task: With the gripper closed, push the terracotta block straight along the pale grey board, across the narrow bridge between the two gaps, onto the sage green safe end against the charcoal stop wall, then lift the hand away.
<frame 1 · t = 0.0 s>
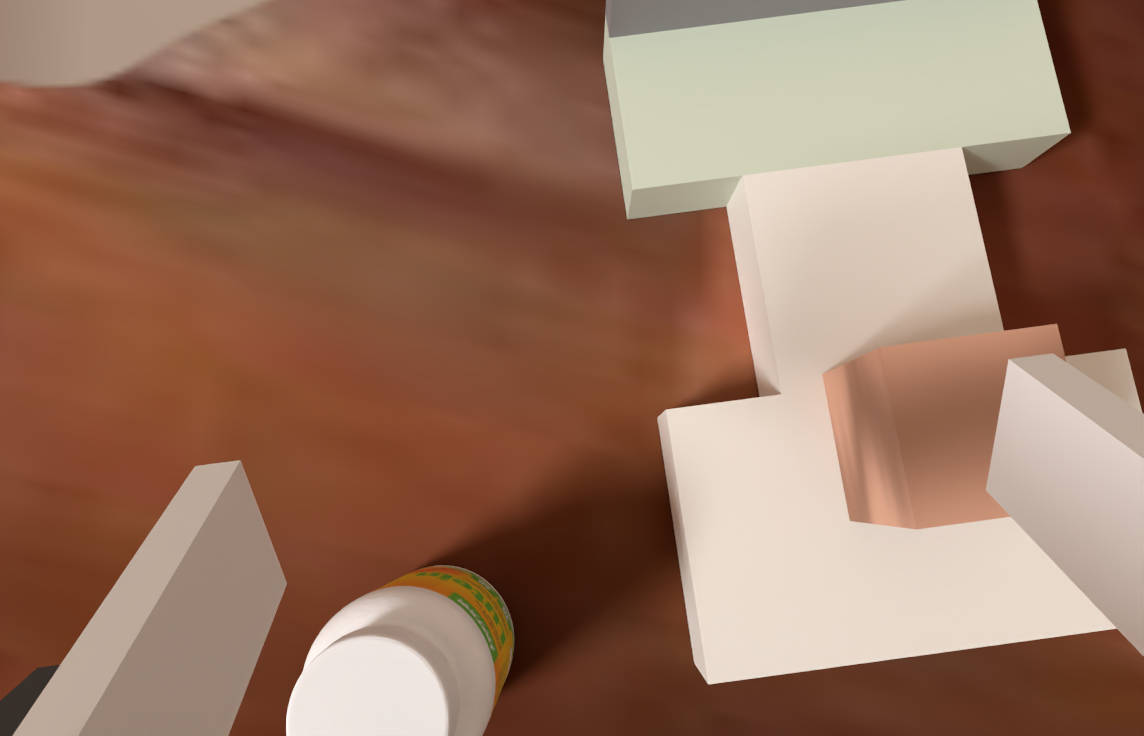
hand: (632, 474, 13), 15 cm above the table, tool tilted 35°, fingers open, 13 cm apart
block: (908, 436, 25), point 3 cm above the table, touching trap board
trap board: (848, 314, 29), on the table
supplement bottle: (443, 637, 27), on the table
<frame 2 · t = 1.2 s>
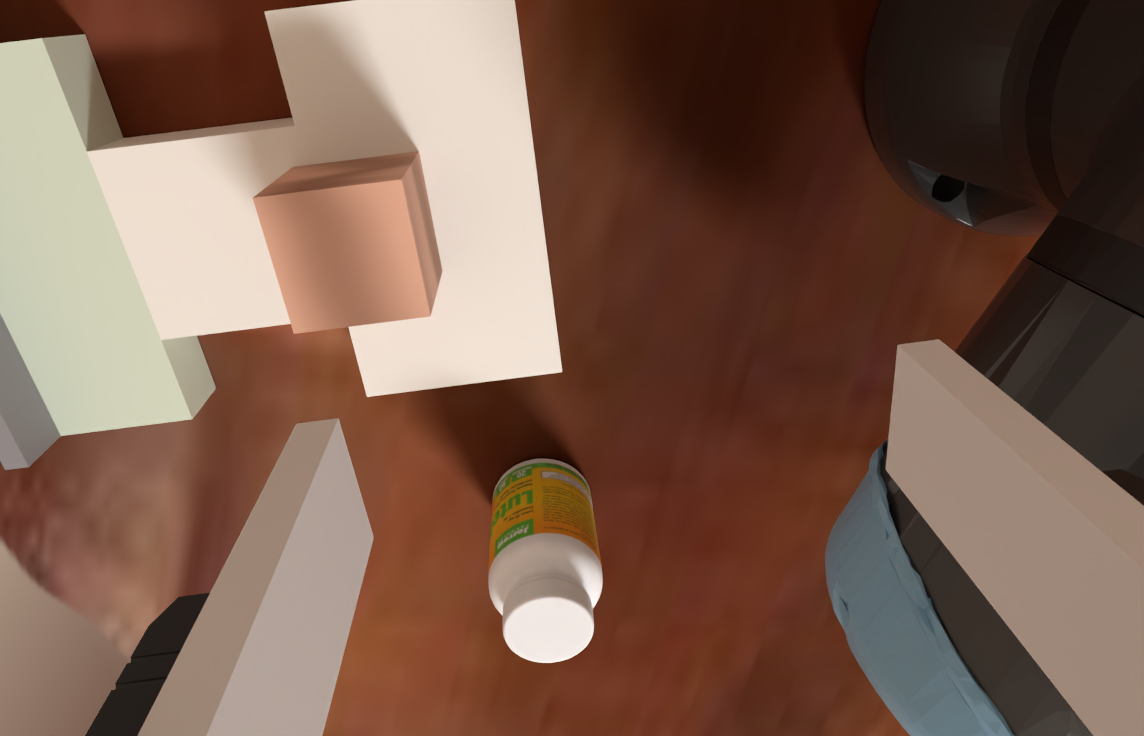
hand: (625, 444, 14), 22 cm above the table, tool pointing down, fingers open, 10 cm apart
block: (370, 221, 30), point 3 cm above the table, touching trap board
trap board: (270, 216, 33), on the table
supplement bottle: (541, 494, 41), on the table
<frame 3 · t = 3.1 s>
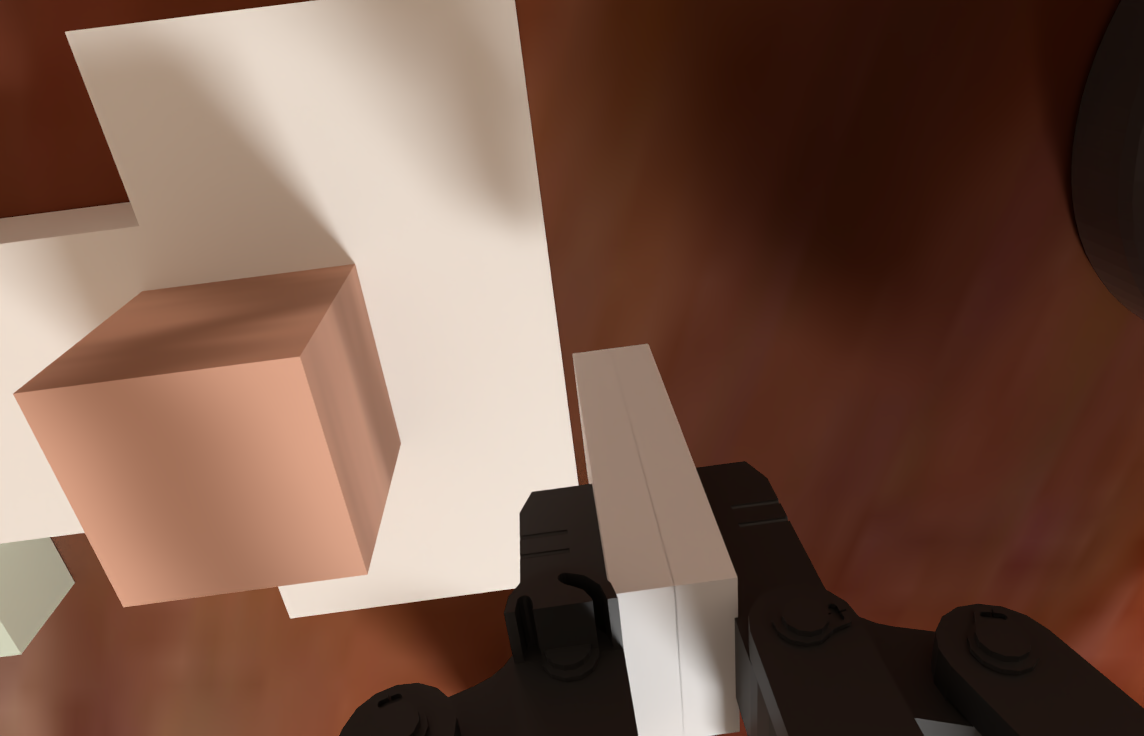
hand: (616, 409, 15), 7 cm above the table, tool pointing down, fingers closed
block: (279, 372, 19), point 3 cm above the table, touching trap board
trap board: (134, 347, 21), on the table
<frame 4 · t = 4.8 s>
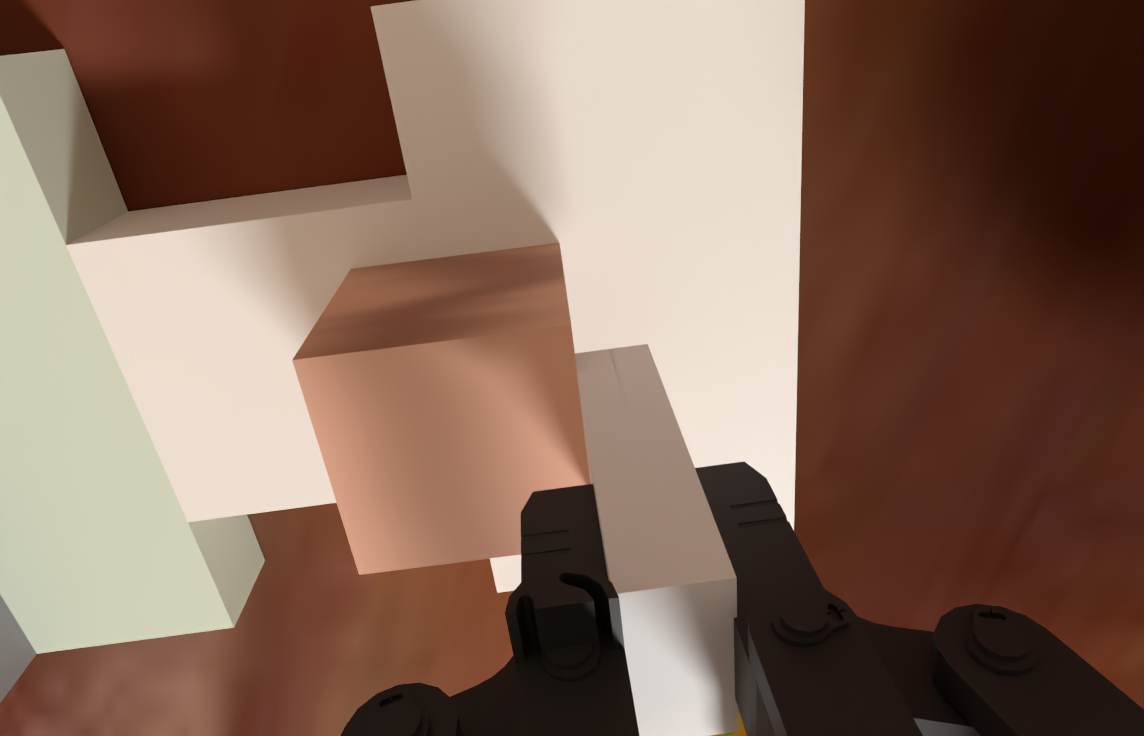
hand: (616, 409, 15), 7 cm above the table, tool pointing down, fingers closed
block: (473, 350, 19), point 3 cm above the table, touching gripper, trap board
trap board: (352, 324, 22), on the table
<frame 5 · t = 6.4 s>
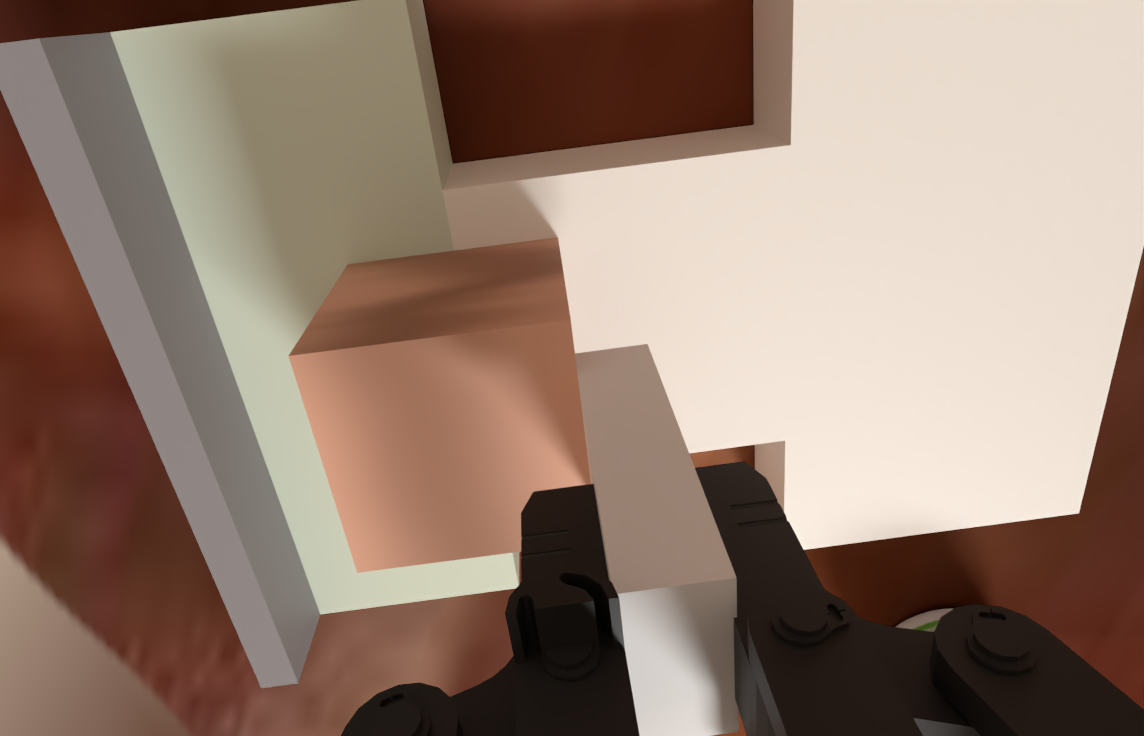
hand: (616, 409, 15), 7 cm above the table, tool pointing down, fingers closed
block: (471, 346, 19), point 3 cm above the table, touching gripper, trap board
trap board: (650, 281, 21), on the table
supplement bottle: (929, 650, 29), on the table
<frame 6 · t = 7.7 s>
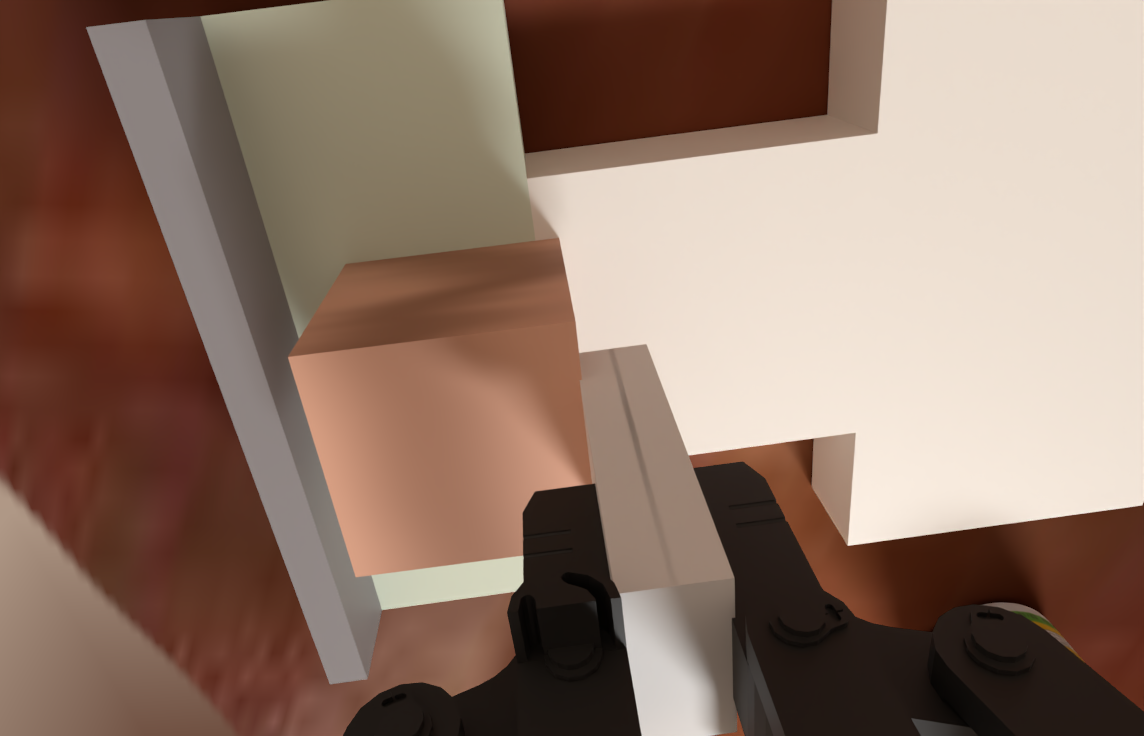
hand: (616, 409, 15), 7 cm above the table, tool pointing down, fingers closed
block: (470, 347, 18), point 3 cm above the table, touching gripper, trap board
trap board: (717, 273, 21), on the table
supplement bottle: (976, 645, 29), on the table
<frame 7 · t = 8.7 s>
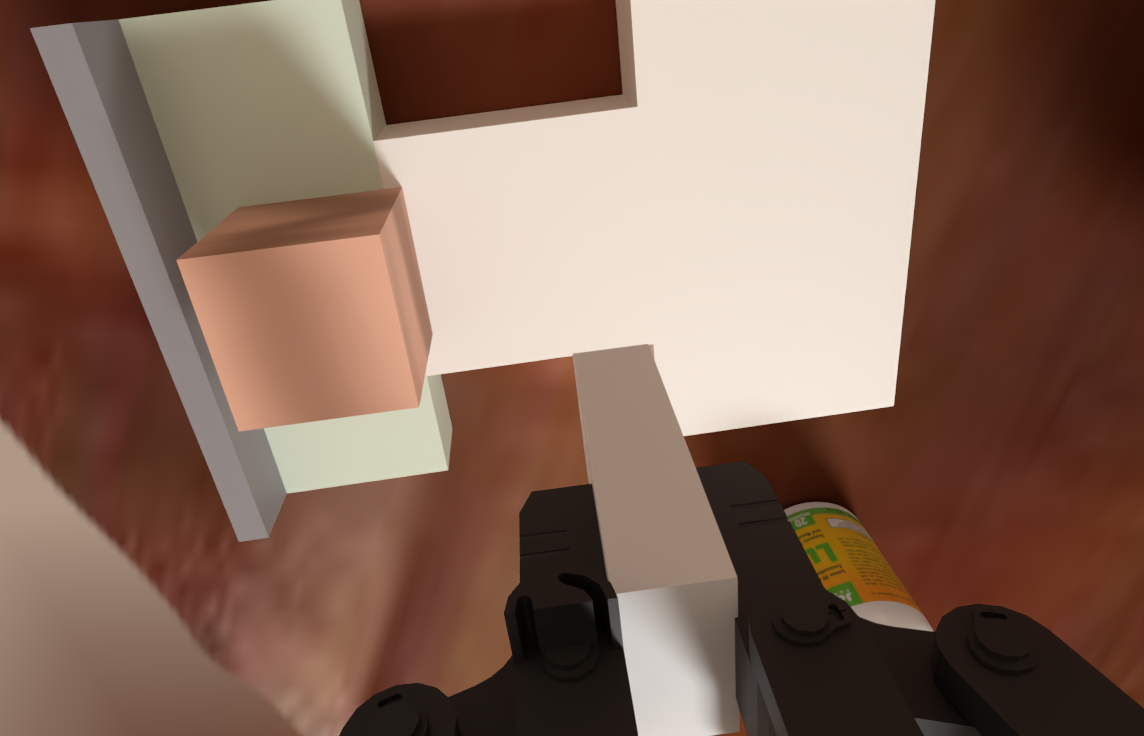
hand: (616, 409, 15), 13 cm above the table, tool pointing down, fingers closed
block: (340, 273, 24), point 3 cm above the table, touching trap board
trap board: (549, 221, 27), on the table
supplement bottle: (803, 541, 35), on the table
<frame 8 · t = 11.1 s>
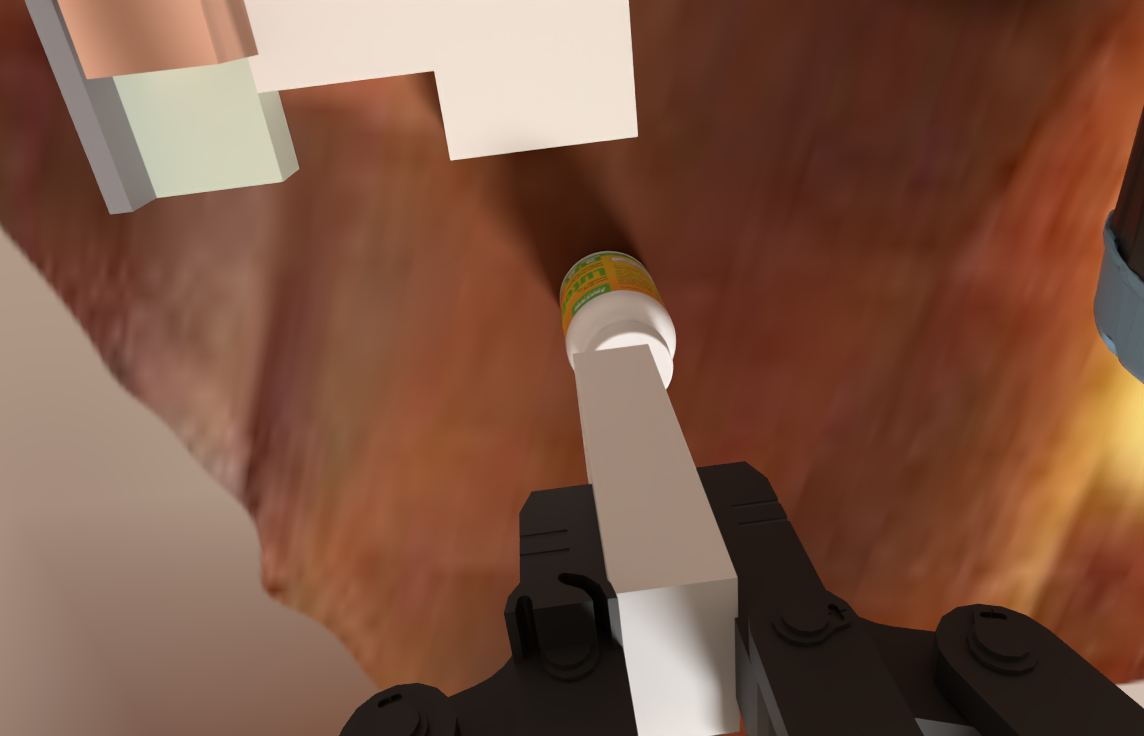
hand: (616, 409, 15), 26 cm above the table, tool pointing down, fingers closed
supplement bottle: (605, 293, 42), on the table
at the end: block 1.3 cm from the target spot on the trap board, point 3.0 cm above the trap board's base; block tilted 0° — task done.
